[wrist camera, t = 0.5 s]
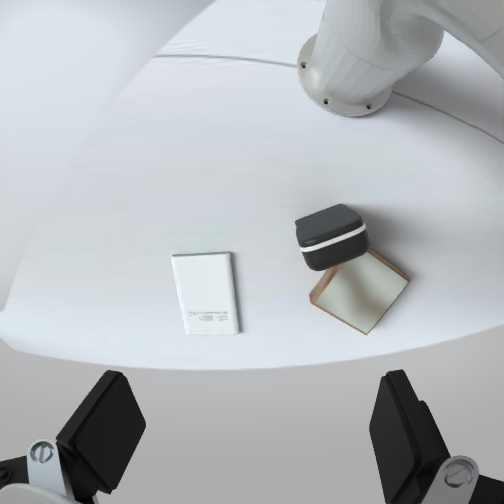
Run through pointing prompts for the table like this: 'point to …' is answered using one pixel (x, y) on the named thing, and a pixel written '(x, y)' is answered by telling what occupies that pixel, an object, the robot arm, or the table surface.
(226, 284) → the external hard drive
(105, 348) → the table surface
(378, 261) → the plinth
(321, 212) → the battery charger
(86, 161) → the table surface
